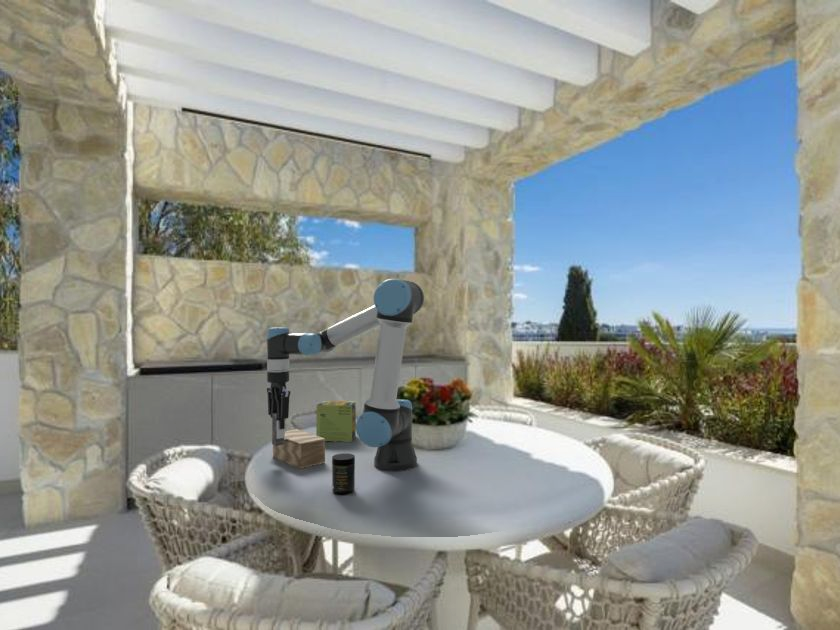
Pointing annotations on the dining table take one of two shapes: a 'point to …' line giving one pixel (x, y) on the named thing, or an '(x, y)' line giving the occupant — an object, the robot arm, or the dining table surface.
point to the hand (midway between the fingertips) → (278, 437)
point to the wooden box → (300, 453)
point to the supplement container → (343, 473)
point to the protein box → (336, 420)
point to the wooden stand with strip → (292, 435)
